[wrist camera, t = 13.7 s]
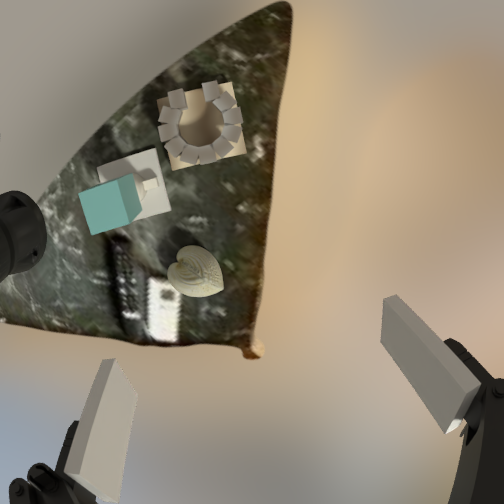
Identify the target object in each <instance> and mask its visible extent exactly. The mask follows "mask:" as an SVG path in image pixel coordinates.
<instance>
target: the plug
mask: <svg viewBox="0 0 504 504" xmlns="http://www.w3.org/2000/svg"><path fill="white" fill-rule="evenodd" d="M159 186H160V185H159V181H158V177H155V178H151V179H148V180H144V179H143V177H141V176H140V175H138V174H135V173H130V174H127V175H124V176H121V177H118V178H115V179H112V180H109V181H106V182H103V183H100V184H98V185H95V186H93V187H91V188H89V189H87V190H85V191H82V192H80V193H78V194H79V197H80V201H81V204H82V207H83V211H84V214H85V217H86V220H87V223H88V226H89V229H90V232H91V235H94V234H97V233H100V232H104V231H107V230H110V229H114V228H117V227H121V226H124V225H128V224H130V223H131V222H132V221H133V220H134V219H135V218H136V217H137V215H138V214H139V213H140V212H141V211H142V206H141V203H140V202H141V201H142V200H143V199H144V197H145V196H146V193H147V190H149V189H153V188H156V187H159Z"/></svg>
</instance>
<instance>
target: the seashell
mask: <svg viewBox="0 0 504 504" xmlns="http://www.w3.org/2000/svg"><path fill="white" fill-rule="evenodd" d="M176 257H177V261H178V263H172V264H171V265H170V266H169V268H168V273H167V274H168V279H169V281H170V283H171V285H172V286H173V287H174V288H175V289H176V290H177V291H179V292H181V293H182V294H185V295H188V296H192V297H204V296H209V295H212V294H215V293H217V292H219V291H221V290H223V279H222V272H221V269H220V267H219V264H218V262H217V260H216V259H215V257H214V256H213V255H212V254H211V253H210V252H209V251H207V250H206V249H204V248H202V247H199V246H195V245H190V246H185V247H183V248H181V249H180V250H179V251H178V253H177V256H176Z"/></svg>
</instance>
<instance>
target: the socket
mask: <svg viewBox="0 0 504 504" xmlns="http://www.w3.org/2000/svg"><path fill="white" fill-rule="evenodd" d="M202 87H203V88H200V89H195V90H191V91H187V92H184V90H183V89H182V88H181V89H177V90H174V91H170V92H168V97H165V98H161V99H158V100H157V105H158V109H159V114H160V117H159V120H158V121H159V122H161V123H162V125H161V126H158V130H159V134H160V139H161V142H166V145H165V146H164V147H165V148H166V149H167V150H168V154H169V158H170V162H171V167H172V171H173V170H177V169H181V168H184V167H188V166H192V165H196V164H201V165H203V164H207V163H211V162H216V161H217V159H221V158H226V157H230V156H235V155H240V154H245V153H246V148H245V143H244V138H243V133H242V127H241V124H240V123H243V120H242V115H241V110H240V107H237V105H236V103H237V101H236V100H235V96H234V91H233V86H232V82H228V83H223V84H218V83H217V80H216V81H211V82H207V83H202Z"/></svg>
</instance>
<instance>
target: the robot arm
mask: <svg viewBox="0 0 504 504" xmlns="http://www.w3.org/2000/svg"><path fill="white" fill-rule="evenodd" d="M46 242H47V233H46V226H45V222H44V218H43V216H42V213H41V211H40V209H39V208H38V206H37V204H36V203H35V202H34V201H33V200H32V199H31V198H30V197H29V196H28V195H26V194H25V193H23V192H20V191H9V192H6V193H3V194H1V195H0V282H2V281H3V280H4V279H5V278H6V277H7V276H8V275H11V274H16V273H20V272H24V271H27V270H29V269H31V268H32V267H33V266H34V265H36V264H37V263H38V262H39V261H40V259H41V258H42V256H43V254H44V252H45V248H46ZM381 343H382V345H383V346H384V347H385V349H386V350H387V351H388V353H389V354H390V355H391V357H392V358H393V360H394V361H395V363H396V364H397V365H398V367H399V368H400V370H401V371H402V372H403V374H404V375H405V377H406V378H407V379H408V381H409V382H410V384H411V385H412V386H413V388H414V389H415V391H416V392H417V394H418V395H419V397H420V398H421V400H422V401H423V402H424V404H425V405H426V407H427V408H428V410H429V411H430V413H431V414H432V416H433V417H434V419H435V420H436V422H437V423H438V425H439V426H440V428H441V429H442V431H443V432H444V434H447V433H449V432H450V431H452V430H454V429H455V428H457V427H458V426H459V425H460V424H461V422H462V420H463V418H464V419H465V420H466V422H467V424H466V426H465V427H464V429H463V430H462V432H461V434H460V437H462V436H463V434H464V439H463V445H462V450H461V455H460V460H459V465H458V469H457V473H456V477H455V481H454V485H453V488H452V492H451V495H450V499H449V502H448V504H504V379H501V378H498V379H494V378H493V377H492V376H491V375H490V374H489V373H488V372H487V371H486V369H485V368H484V367H483V366H482V365H481V364H480V363H479V362H478V361H477V360H476V359H475V358H474V357H472V355H471V354H470V353H469V352H467V349H466V348H464V346H463V345H462V344H461V343H459V342H457V341H455V340H453V339H451V338H449V339H447V340H445V341H442V340H441V339H440V338H439V337H438V336H437V335H436V334H435V333H434V332H433V331H432V330H431V328H429V327H428V326H427V324H426V323H425V322H424V321H423V320H422V319H421V318H420V317H419V316H417V314H416V313H415V312H414V311H412V309H411V308H410V307H409V306H408V305H407V304H405V302H404V301H403V300H402V299H400V298H399V297H398V296H397V295H394V296H391V297H388V298H385V299H383V315H382V330H381ZM137 398H138V394H137V393H136V391H135V390H134V389H133V387H132V385H131V384H130V382H129V380H128V379H127V377H126V376H125V374H124V372H123V371H122V369H121V367H120V366H119V364H118V362H117V361H116V359H107V360H102V363H101V365H100V368H99V370H98V373H97V375H96V377H95V380H94V383H93V385H92V388H91V391H90V393H89V396H88V398H87V401H86V404H85V407H84V409H83V413H82V415H81V418H80V421H74V422H73V423H72V425H71V426H70V427H69V428H68V431H67V434H66V437H65V440H64V443H63V447H62V449H61V452H60V455H59V458H58V461H57V465H56V468H55V471H53V470H52V469H51V468H50V467H48V466H47V465H46V464H44V463H37V464H34V465H33V466H32V467H31V468H30V469H29V471H28V475H27V479H28V482H29V483H30V484H29V483H28V482H27V481H25V480H24V479H22V478H16V479H14V480H13V481H12V482H11V484H10V486H9V499H10V504H97V502H96V501H95V500H96V496H97V497H98V498H100V499H101V500H103V501H105V502H112V503H119V499H120V492H121V484H122V478H123V471H124V465H125V460H126V454H127V447H128V442H129V437H130V432H131V427H132V422H133V417H134V412H135V407H136V403H137Z"/></svg>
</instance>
